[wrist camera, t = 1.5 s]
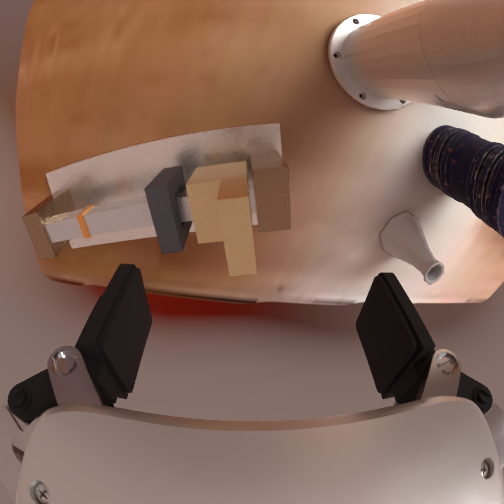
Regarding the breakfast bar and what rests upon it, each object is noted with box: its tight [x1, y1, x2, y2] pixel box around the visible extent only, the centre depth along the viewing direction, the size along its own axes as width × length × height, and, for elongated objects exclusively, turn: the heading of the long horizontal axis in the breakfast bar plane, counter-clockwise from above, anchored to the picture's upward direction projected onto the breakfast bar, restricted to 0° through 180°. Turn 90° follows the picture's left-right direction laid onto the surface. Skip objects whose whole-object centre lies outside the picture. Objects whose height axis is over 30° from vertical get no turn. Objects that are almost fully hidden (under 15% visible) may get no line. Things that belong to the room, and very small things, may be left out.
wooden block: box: [186, 161, 257, 276], centre depth 23 cm, size 5×6×11 cm
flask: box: [380, 211, 444, 284], centre depth 32 cm, size 7×7×10 cm
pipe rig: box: [23, 123, 291, 260], centre depth 28 cm, size 31×12×8 cm, turn 96°
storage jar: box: [422, 125, 504, 237], centre depth 23 cm, size 10×10×15 cm
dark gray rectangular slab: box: [144, 165, 193, 254], centre depth 25 cm, size 2×6×6 cm, turn 6°
